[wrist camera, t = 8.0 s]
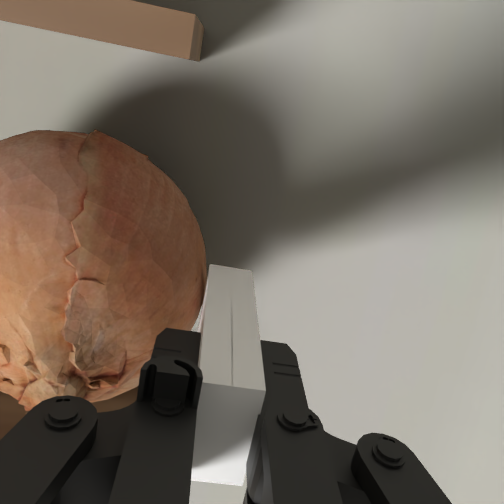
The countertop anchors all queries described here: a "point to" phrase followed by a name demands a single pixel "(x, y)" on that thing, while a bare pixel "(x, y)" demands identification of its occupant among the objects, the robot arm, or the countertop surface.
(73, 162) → the onion
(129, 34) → the wooden tray
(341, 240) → the countertop surface
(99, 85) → the countertop surface
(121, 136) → the countertop surface
